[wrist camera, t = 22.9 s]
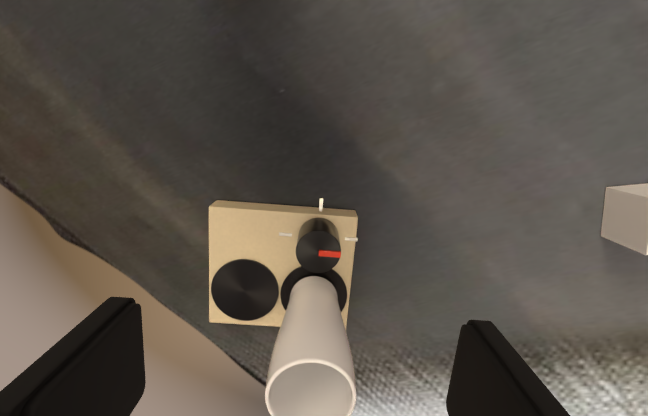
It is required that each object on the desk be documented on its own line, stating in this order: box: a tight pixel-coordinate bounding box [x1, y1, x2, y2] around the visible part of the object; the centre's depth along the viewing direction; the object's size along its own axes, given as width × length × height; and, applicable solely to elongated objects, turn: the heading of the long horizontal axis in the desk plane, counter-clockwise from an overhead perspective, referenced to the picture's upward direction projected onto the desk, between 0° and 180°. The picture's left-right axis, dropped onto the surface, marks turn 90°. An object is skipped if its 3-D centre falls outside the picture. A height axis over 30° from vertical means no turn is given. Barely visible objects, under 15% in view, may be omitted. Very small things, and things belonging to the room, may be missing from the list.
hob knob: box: [296, 218, 341, 273], centre depth 36 cm, size 4×4×5 cm
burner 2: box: [280, 266, 347, 312], centre depth 40 cm, size 8×8×1 cm
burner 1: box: [211, 259, 279, 321], centre depth 39 cm, size 8×8×1 cm
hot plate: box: [209, 198, 358, 330], centre depth 40 cm, size 16×16×3 cm
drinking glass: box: [265, 276, 356, 416], centre depth 32 cm, size 7×7×15 cm
